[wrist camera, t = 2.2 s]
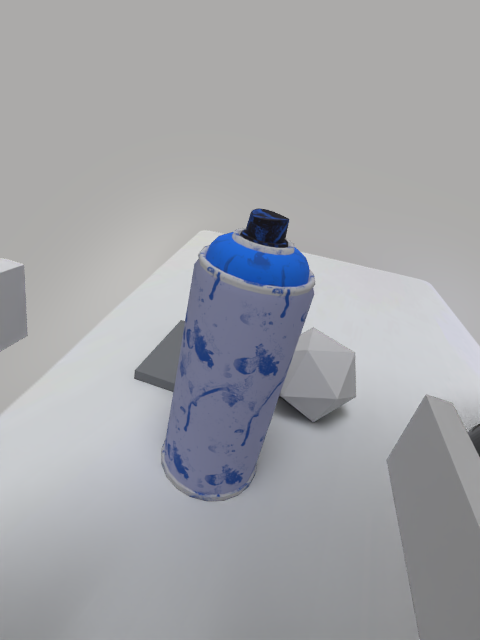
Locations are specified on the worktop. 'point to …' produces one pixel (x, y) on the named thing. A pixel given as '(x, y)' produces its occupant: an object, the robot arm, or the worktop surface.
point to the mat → (163, 361)
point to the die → (319, 375)
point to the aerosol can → (235, 355)
